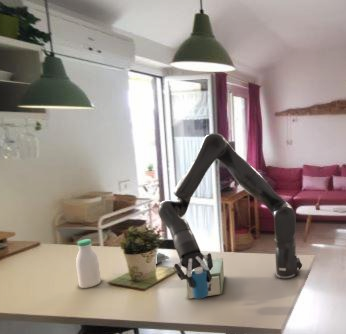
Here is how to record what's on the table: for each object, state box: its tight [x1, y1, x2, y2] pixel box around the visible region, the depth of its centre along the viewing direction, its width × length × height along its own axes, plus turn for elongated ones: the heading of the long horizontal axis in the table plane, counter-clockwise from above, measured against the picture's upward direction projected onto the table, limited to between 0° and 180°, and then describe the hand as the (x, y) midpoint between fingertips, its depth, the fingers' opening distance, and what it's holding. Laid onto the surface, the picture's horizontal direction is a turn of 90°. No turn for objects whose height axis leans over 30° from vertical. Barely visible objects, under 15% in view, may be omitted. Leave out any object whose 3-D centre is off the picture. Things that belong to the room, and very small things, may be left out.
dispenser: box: [186, 257, 225, 300], centre depth 142 cm, size 15×13×9 cm
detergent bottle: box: [191, 267, 208, 300], centre depth 124 cm, size 5×5×10 cm
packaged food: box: [156, 251, 170, 265], centre depth 167 cm, size 9×12×5 cm
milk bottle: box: [75, 238, 102, 289], centre depth 145 cm, size 8×8×20 cm
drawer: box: [186, 275, 221, 300], centre depth 138 cm, size 18×12×7 cm, turn 16°
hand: (201, 284), depth 123 cm, fingers closed on detergent bottle, 5 cm apart
